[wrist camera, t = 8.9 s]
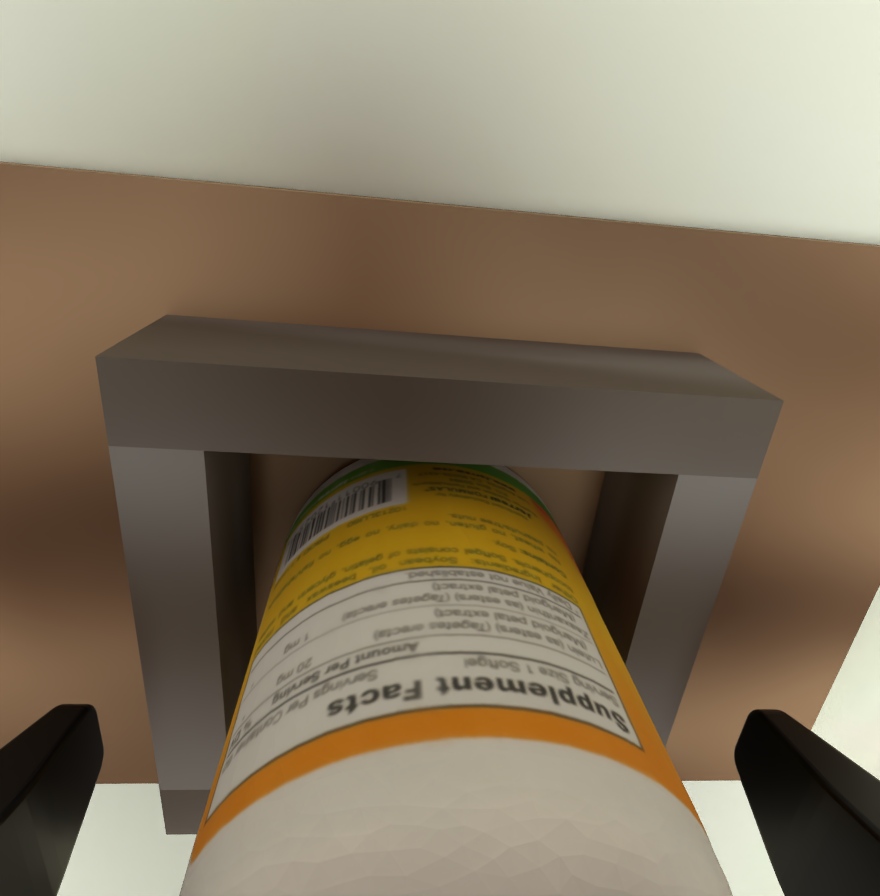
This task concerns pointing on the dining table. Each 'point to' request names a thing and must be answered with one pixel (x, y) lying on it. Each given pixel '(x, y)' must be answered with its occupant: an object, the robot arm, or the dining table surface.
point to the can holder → (418, 438)
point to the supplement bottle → (441, 712)
